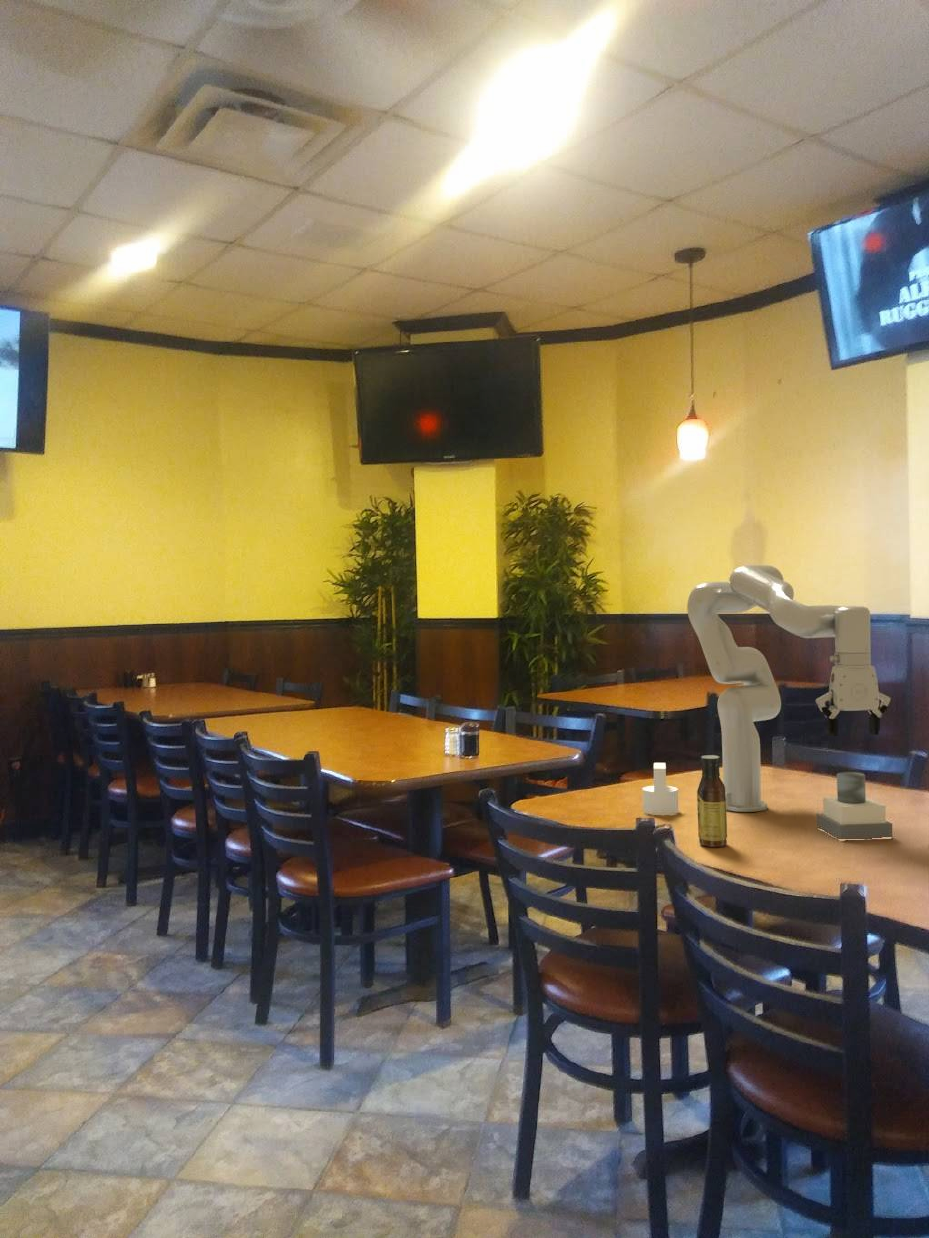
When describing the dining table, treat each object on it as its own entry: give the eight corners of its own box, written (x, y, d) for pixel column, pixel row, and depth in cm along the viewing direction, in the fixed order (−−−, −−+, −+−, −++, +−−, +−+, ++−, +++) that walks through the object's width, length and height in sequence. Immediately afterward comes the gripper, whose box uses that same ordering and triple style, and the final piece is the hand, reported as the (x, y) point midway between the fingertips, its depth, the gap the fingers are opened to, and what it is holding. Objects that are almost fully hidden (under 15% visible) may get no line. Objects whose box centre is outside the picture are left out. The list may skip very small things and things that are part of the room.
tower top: (841, 824, 215) (841, 806, 215) (823, 814, 225) (823, 797, 225) (885, 823, 215) (885, 805, 215) (865, 813, 225) (865, 796, 225)
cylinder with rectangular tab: (678, 816, 242) (677, 768, 242) (642, 815, 244) (641, 768, 244) (678, 808, 251) (677, 762, 251) (643, 807, 253) (642, 762, 252)
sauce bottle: (706, 839, 218) (704, 752, 218) (732, 843, 214) (730, 755, 214) (693, 846, 213) (691, 756, 213) (719, 850, 209) (717, 759, 209)
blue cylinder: (845, 804, 217) (844, 778, 217) (832, 798, 223) (831, 773, 223) (870, 802, 218) (870, 776, 218) (857, 796, 224) (856, 771, 224)
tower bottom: (840, 843, 214) (840, 825, 214) (817, 830, 226) (816, 813, 226) (892, 841, 215) (892, 823, 215) (866, 828, 227) (865, 811, 227)
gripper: (823, 662, 215) (824, 738, 216) (897, 660, 216) (898, 736, 217) (809, 660, 223) (809, 733, 223) (880, 658, 224) (881, 731, 224)
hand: (853, 734), depth 220 cm, fingers open, 9 cm apart
